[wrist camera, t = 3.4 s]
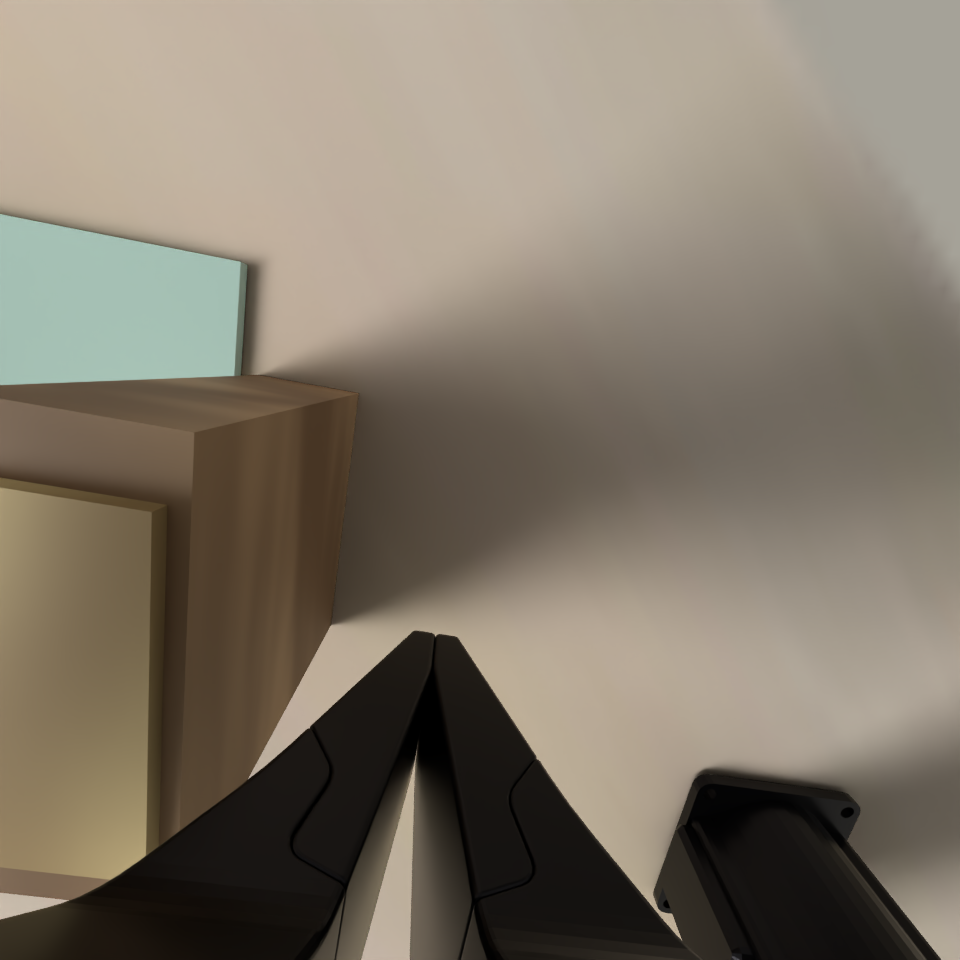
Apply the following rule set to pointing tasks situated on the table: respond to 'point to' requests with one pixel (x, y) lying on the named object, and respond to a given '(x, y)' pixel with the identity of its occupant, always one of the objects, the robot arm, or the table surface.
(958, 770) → the table surface
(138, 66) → the table surface
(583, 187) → the table surface
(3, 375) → the mat
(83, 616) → the menu stand
